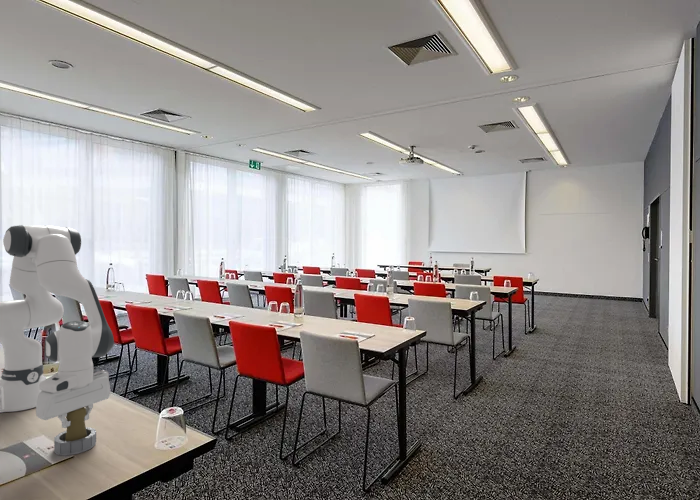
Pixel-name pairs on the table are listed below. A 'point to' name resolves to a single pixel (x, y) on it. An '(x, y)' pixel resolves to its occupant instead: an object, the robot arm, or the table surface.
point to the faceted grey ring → (74, 443)
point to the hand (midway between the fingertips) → (75, 423)
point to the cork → (76, 425)
